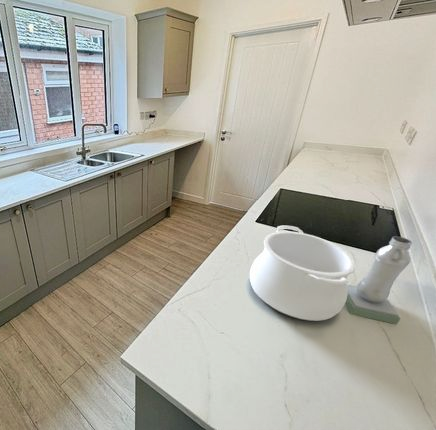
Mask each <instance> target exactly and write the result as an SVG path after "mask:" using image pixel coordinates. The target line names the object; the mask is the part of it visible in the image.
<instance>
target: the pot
mask: <svg viewBox="0 0 436 430" xmlns="http://www.w3.org/2000/svg"><path fill="white" fill-rule="evenodd" d="M281 230H283V231H281ZM284 230H285V231H284ZM286 230H290V231H286ZM291 230H292V231H291ZM263 246H264V248H263V251H262V252H261V253H260V254H259V255H258V256H257V257H256V258H255V259H254V261H253V263H252V265H251V267H250V269H249V270H250V271H249V281H250V285H251V287H252V290H253V291H254V293H255V294H256V295H257V297H258V298H259V299H260V300H261V301H262V302H263V303H264V304H266V305H267V306H268V307H269V308H271V309H272V310H275V311H276V312H278V313H280V314H282V315H285V316H286V317H289V318H293V319H297V320H301V321H309V322H310V321H311V322H313V321H314V322H315V321H317V322H319V321H326V320H328V319H331V318H333V317H334V316H336V315H337V314H339V313H340V312H341V311H342V310H343V308H344V306H345V305H346V304H345V302H346V300H347V285H348V284H349V281H348V276H350V275H351V274H352V273H354V272H355V269H356V268H357V262H356V261H355V259H354V257H353V256H352V255H351V254H350V253H349V252H348V251H346V250H345V249H344V248H342V247H340V246H339V245H337V244H335V243H333V242H331V241H329V240H327V239H324V238H321V237H319V236H316V235H312V234H308V233H305V232H304V231H303V230H302V229H300V227H297V226H293V225H277V226H276V231H275V232H271V233H269V234H268V235H266V236H265V237H264V240H263Z"/></svg>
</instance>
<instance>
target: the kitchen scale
mask: <svg viewBox="0 0 436 430" xmlns="http://www.w3.org/2000/svg"><path fill="white" fill-rule="evenodd" d="M356 289H357V285H351V284H347V300H346V302H345V304H344V305H345V306H346V308H347V310H348V312H349V314H351V315H355V316H358V317H363V318H367V319H371V320H376V321H380V322H383V323H389V324H393V325H398V323H399V321H400V320H401V317H400V314H399V313H398V312H397V310H396V309H395V307H394V306H393V305H392V303H391V301H389V299H388V298H387V299H386V300H385V301H383V302H379V303H375V302H371V301H368V300H366V299H364V298H362V297H361V296H359V294H358V293H357V290H356Z"/></svg>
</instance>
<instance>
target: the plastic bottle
mask: <svg viewBox="0 0 436 430" xmlns="http://www.w3.org/2000/svg"><path fill="white" fill-rule="evenodd" d="M412 244H413V241H411V240H410V239H409V238H406V237H403V236H397V235H395V236H392V237H391V239H390V240H389V242H388V245H385V246H382V247H380V248H379V249H377V251H376V252H375V254H374V258H373V260H372V264H371V266H370V268H369V270H368V272H367V273H366V274H365V276H364V277H363V278H362V279H361V280H360V281H359V282H358V284H357V285H356V287H357V289H356V290H357V293H358V294H359V296H361V297H362V298H364V299H366V300H368V301H371V302H375V303H379V302H383V301H385V300H386V299H388V298H389V296H390V294H391V293H390V292H391V290H392V286H393V285H394V282H395V281H396V280H397V278H398V277H399V275H400V274H402V272H403V271H404V270H405V269H406V268H407V267H408V266H409V264H410V263H411V256H410V253H409V251H408V250H410V249H411V246H412Z"/></svg>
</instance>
